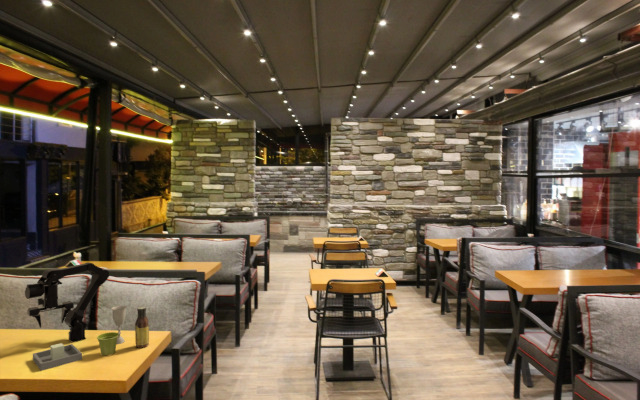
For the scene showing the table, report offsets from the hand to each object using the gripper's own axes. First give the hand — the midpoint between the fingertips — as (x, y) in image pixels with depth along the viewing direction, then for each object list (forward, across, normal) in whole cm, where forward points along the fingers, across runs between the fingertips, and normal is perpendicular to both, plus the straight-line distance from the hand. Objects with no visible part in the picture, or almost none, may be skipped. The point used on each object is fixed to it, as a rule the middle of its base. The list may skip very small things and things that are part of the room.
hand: (51, 325), depth 199 cm
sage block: (+10, +2, +20) cm, 23 cm away
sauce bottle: (+11, -32, +32) cm, 47 cm away
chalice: (+11, -26, +18) cm, 34 cm away
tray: (+11, +2, +20) cm, 23 cm away
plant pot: (+11, -17, +29) cm, 35 cm away
